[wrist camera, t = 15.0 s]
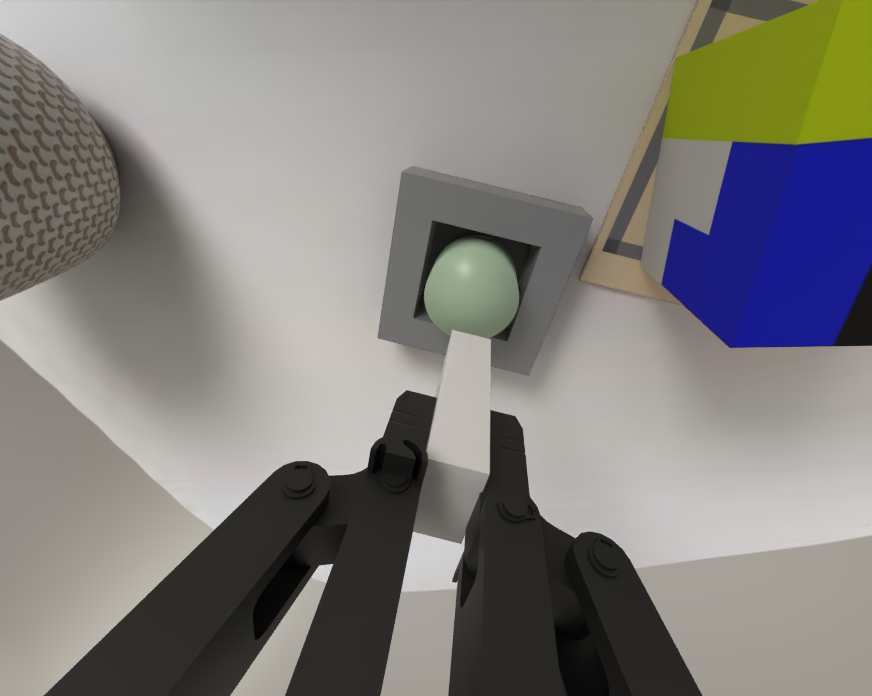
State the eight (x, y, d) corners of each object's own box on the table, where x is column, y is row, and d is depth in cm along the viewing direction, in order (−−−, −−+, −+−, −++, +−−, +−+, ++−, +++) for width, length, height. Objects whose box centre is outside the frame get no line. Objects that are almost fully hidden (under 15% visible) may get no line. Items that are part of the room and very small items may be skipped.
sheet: (732, -81, 16) (736, -85, 15) (1040, -8, 16) (1050, -10, 15) (579, 278, 24) (580, 280, 24) (781, 328, 24) (784, 330, 24)
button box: (412, 166, 22) (402, 171, 19) (581, 207, 22) (593, 218, 19) (388, 318, 27) (377, 338, 24) (525, 352, 27) (528, 375, 24)
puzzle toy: (640, 265, 23) (729, 347, 14) (675, 57, 18) (846, -11, 9) (832, 256, 21) (1066, 342, 13) (929, 25, 16) (1419, -92, 8)
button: (442, 226, 22) (434, 241, 19) (527, 246, 22) (532, 265, 19) (425, 304, 24) (416, 328, 21) (501, 322, 24) (503, 350, 21)
